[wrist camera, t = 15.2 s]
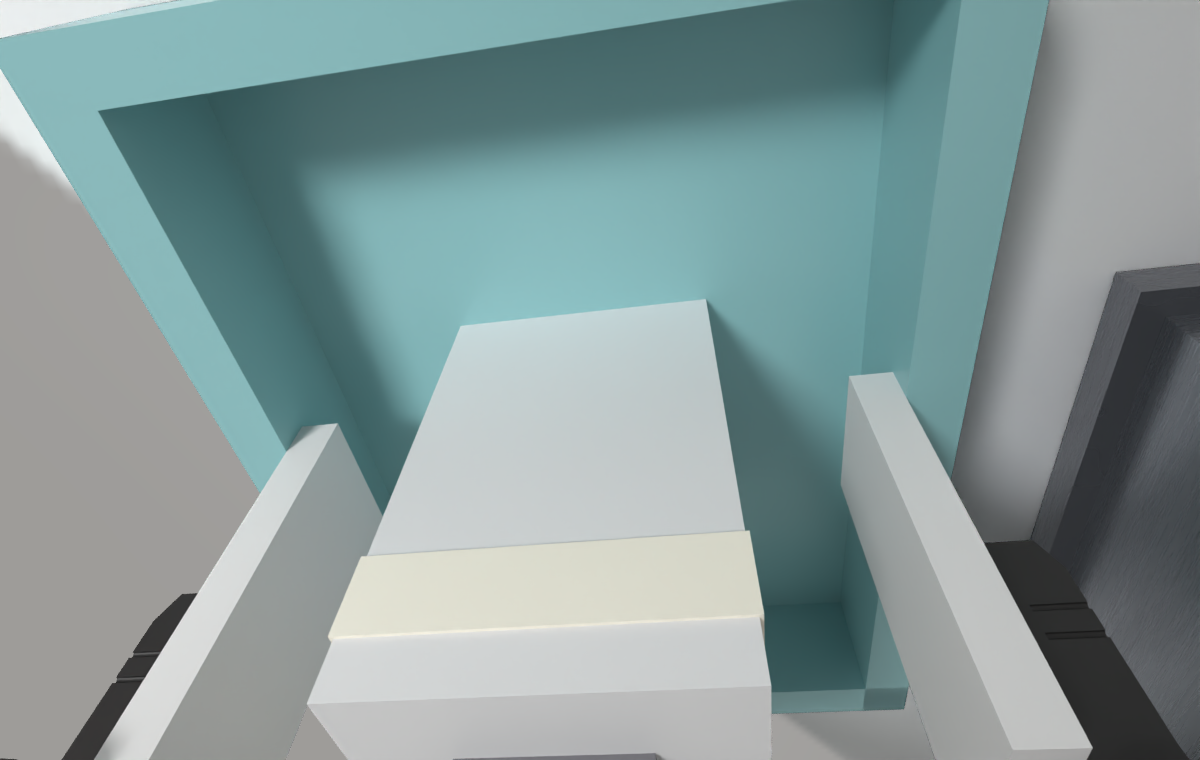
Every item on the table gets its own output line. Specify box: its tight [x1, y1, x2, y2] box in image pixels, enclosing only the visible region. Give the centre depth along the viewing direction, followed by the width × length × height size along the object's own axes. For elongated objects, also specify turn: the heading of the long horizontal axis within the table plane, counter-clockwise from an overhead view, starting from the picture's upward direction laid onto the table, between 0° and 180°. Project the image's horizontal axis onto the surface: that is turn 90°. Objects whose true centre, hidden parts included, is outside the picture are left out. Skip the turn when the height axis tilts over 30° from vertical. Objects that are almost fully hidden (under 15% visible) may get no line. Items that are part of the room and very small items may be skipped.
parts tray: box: [0, 0, 1049, 714], centre depth 14 cm, size 17×13×3 cm
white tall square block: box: [307, 299, 772, 760], centre depth 12 cm, size 5×5×9 cm
